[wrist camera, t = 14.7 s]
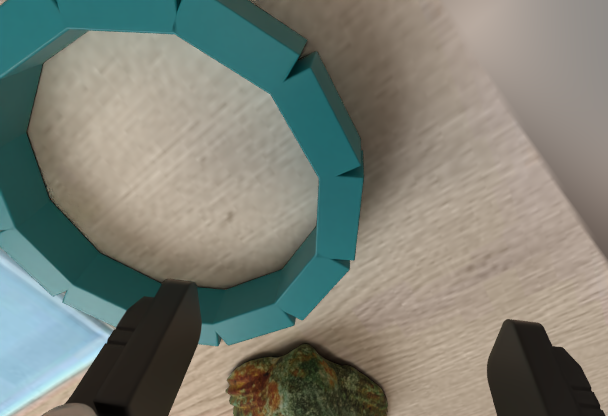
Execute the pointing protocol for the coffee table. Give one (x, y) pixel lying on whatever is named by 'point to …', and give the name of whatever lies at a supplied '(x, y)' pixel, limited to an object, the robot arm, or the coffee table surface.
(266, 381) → the seashell
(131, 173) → the coffee table surface
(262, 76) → the ring
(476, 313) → the coffee table surface
